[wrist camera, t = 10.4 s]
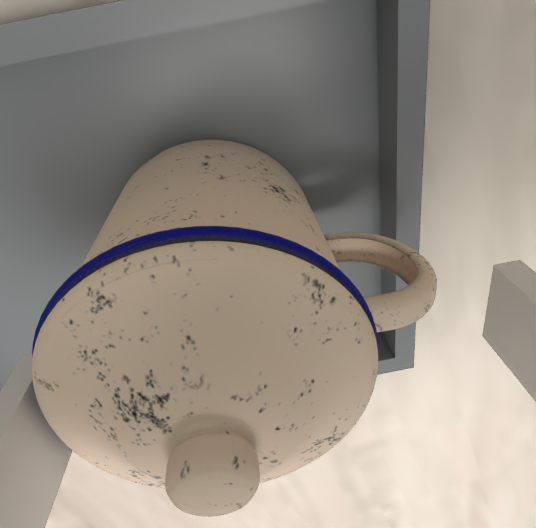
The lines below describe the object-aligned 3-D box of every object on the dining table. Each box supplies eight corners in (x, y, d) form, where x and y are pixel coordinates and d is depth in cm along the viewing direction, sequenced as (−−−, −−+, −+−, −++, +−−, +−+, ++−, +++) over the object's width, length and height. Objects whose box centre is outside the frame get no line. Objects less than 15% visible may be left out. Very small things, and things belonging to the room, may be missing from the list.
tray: (398, -51, 14) (433, -63, 11) (395, 334, 23) (413, 367, 21) (-287, 87, 14) (-383, 101, 12) (-6, 414, 23) (-30, 455, 21)
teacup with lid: (143, 325, 20) (72, 616, 10) (78, 147, 15) (-169, 381, 6) (374, 289, 21) (515, 539, 11) (382, 105, 16) (653, 255, 6)
